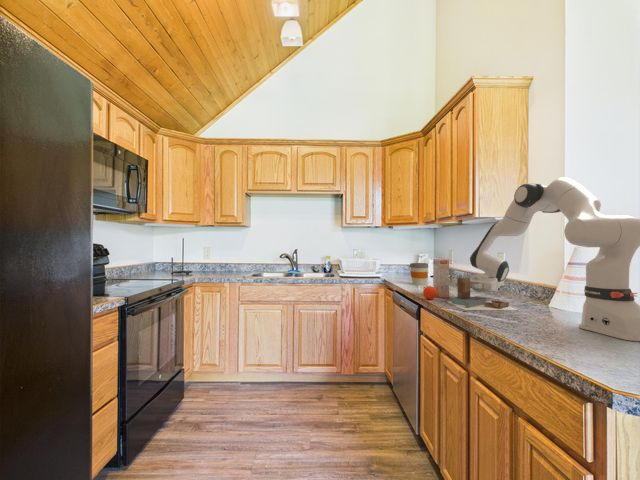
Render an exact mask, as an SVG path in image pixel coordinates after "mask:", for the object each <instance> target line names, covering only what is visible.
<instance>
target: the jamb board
mask: <svg viewBox="0 0 640 480" xmlns="http://www.w3.org/2000/svg"><path fill="white" fill-rule="evenodd" d="M446 302H447V303H449V304H451V305H453V306H456V307H457V308H459V309H461V310H462V312H463V313H468V311H495V310H496V311H503V310H504V311H506V310H507V311H515V310H516V311H518V310H519V309H517V308H514V307H512V306H509V307H506V308H502V309H497V308H491V307H485V306H484V302H491V303H492V300H486V298H476V300H471V301H466V302H465V305H459V304H453V303H452V300H450V301H449V300H448V301H446Z"/></svg>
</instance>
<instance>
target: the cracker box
mask: <svg viewBox="0 0 640 480" xmlns="http://www.w3.org/2000/svg"><path fill="white" fill-rule="evenodd" d="M432 260H433V261H432V263H433V264H432V265H433V266H432V268H433V272H432V274H433V275H432V277H433V278H432V279H433V281H432V283H433V284H432V285H433V286H432V287H434V288H435V289H436V291H437V296H436V298H440V299H450V260H449V259H446V258H441V257H440V258H433V259H432Z"/></svg>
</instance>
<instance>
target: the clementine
mask: <svg viewBox="0 0 640 480" xmlns="http://www.w3.org/2000/svg"><path fill="white" fill-rule="evenodd" d="M422 295H423V296H424V298H425V299H426V300H430V301H433V300H434V299H435V298H437V291H436V289H435V288H434V287H433V286H431V285H428V286H426V285H425V286H424V287H423V292H422Z"/></svg>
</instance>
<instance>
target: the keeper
mask: <svg viewBox="0 0 640 480" xmlns="http://www.w3.org/2000/svg"><path fill="white" fill-rule="evenodd" d="M491 301H492V303H491V302H484V306H485V307H491V308H497V309H502V308H506V307H510V306H509V304H510V303H509V302H508V301H501V300H491Z"/></svg>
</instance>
